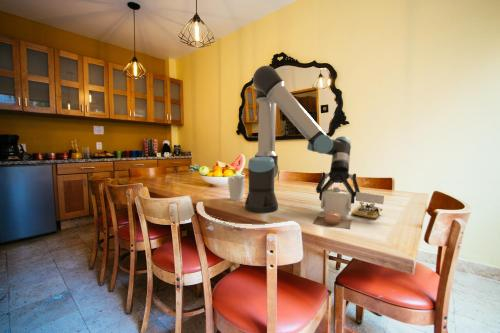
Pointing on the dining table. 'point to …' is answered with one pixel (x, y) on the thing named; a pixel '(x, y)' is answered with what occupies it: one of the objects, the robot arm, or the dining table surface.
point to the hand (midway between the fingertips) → (335, 208)
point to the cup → (236, 187)
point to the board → (343, 224)
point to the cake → (368, 210)
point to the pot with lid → (336, 201)
